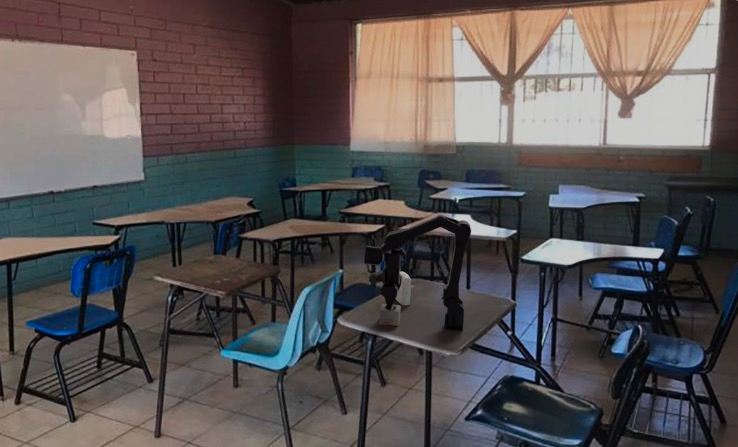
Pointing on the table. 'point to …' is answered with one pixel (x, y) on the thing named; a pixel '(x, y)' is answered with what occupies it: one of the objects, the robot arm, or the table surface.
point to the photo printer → (404, 290)
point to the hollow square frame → (390, 313)
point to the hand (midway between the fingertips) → (390, 306)
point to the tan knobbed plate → (389, 321)
